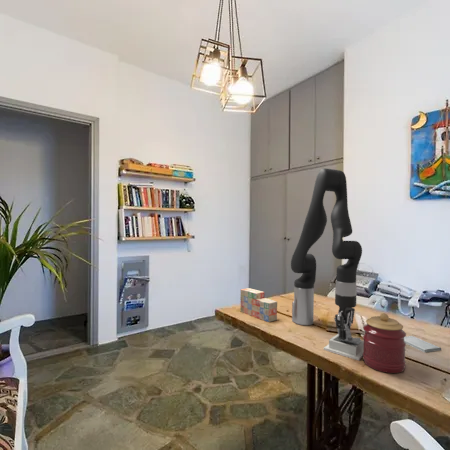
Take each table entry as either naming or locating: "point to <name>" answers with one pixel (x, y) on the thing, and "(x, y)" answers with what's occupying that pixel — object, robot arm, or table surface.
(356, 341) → the block
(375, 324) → the canister
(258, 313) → the stack of blocks
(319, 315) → the table surface
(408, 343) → the hard drive
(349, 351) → the dock
